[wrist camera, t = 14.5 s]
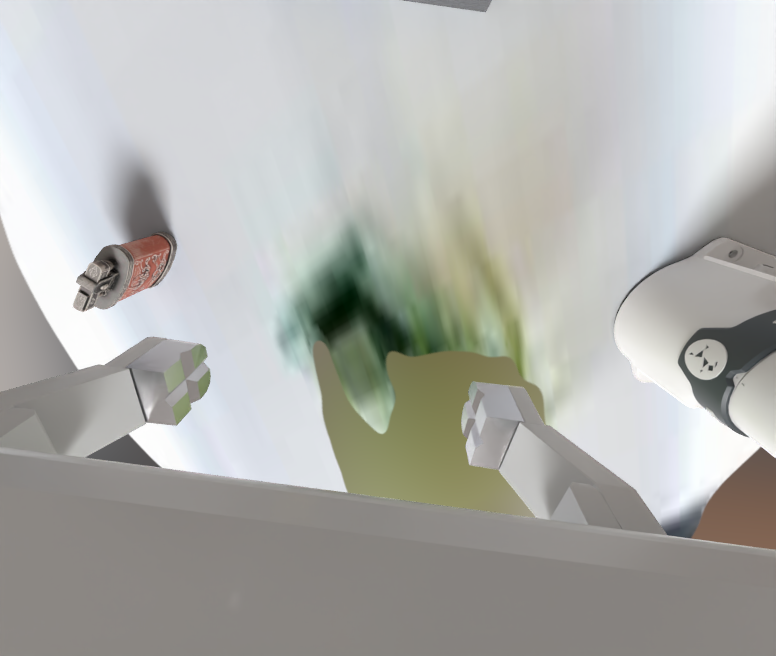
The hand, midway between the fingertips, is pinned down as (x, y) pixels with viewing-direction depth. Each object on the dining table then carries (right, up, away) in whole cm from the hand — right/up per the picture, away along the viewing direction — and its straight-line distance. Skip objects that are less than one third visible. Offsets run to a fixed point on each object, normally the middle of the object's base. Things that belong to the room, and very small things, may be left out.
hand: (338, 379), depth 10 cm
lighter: (-27, +10, +30) cm, 41 cm away
